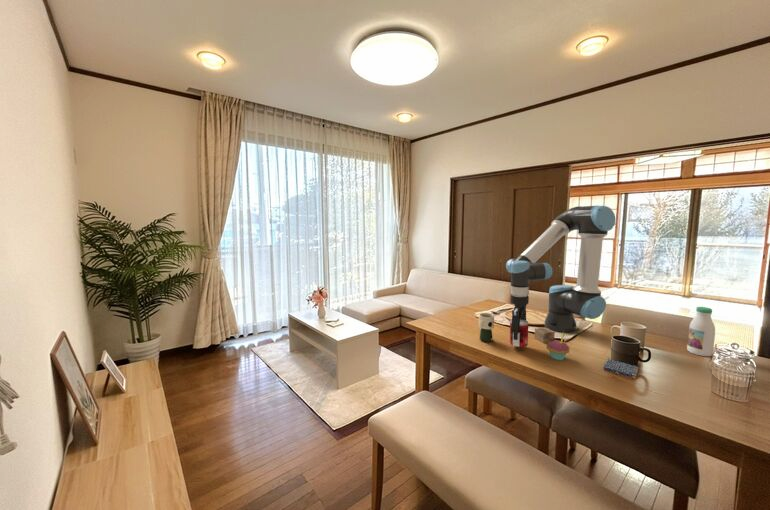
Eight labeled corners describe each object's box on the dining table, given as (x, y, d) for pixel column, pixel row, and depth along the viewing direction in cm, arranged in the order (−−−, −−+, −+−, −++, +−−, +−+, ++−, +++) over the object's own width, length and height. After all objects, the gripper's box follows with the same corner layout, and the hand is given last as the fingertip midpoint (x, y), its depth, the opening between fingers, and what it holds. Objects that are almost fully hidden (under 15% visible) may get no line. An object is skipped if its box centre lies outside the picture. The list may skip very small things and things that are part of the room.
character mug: (487, 345, 143) (488, 319, 141) (474, 341, 148) (474, 316, 146) (497, 338, 151) (498, 313, 149) (484, 334, 156) (484, 310, 154)
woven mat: (638, 370, 118) (639, 365, 118) (635, 381, 111) (636, 376, 110) (606, 361, 125) (606, 357, 125) (601, 371, 118) (601, 366, 118)
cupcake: (567, 355, 131) (568, 328, 130) (570, 364, 124) (571, 336, 122) (545, 352, 135) (546, 326, 133) (546, 360, 127) (547, 333, 126)
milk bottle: (704, 349, 132) (709, 306, 129) (717, 357, 125) (722, 311, 122) (682, 347, 135) (687, 304, 132) (693, 355, 127) (698, 310, 125)
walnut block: (545, 337, 151) (545, 327, 150) (553, 341, 145) (554, 332, 145) (534, 338, 150) (534, 328, 149) (543, 343, 144) (543, 333, 143)
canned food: (524, 340, 143) (524, 318, 141) (530, 347, 135) (531, 324, 133) (507, 340, 144) (507, 318, 142) (513, 347, 136) (513, 324, 134)
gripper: (517, 288, 146) (517, 333, 149) (503, 299, 130) (503, 348, 134) (534, 290, 142) (533, 336, 145) (521, 301, 126) (520, 353, 129)
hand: (518, 342), depth 139 cm, fingers closed on canned food, 8 cm apart
